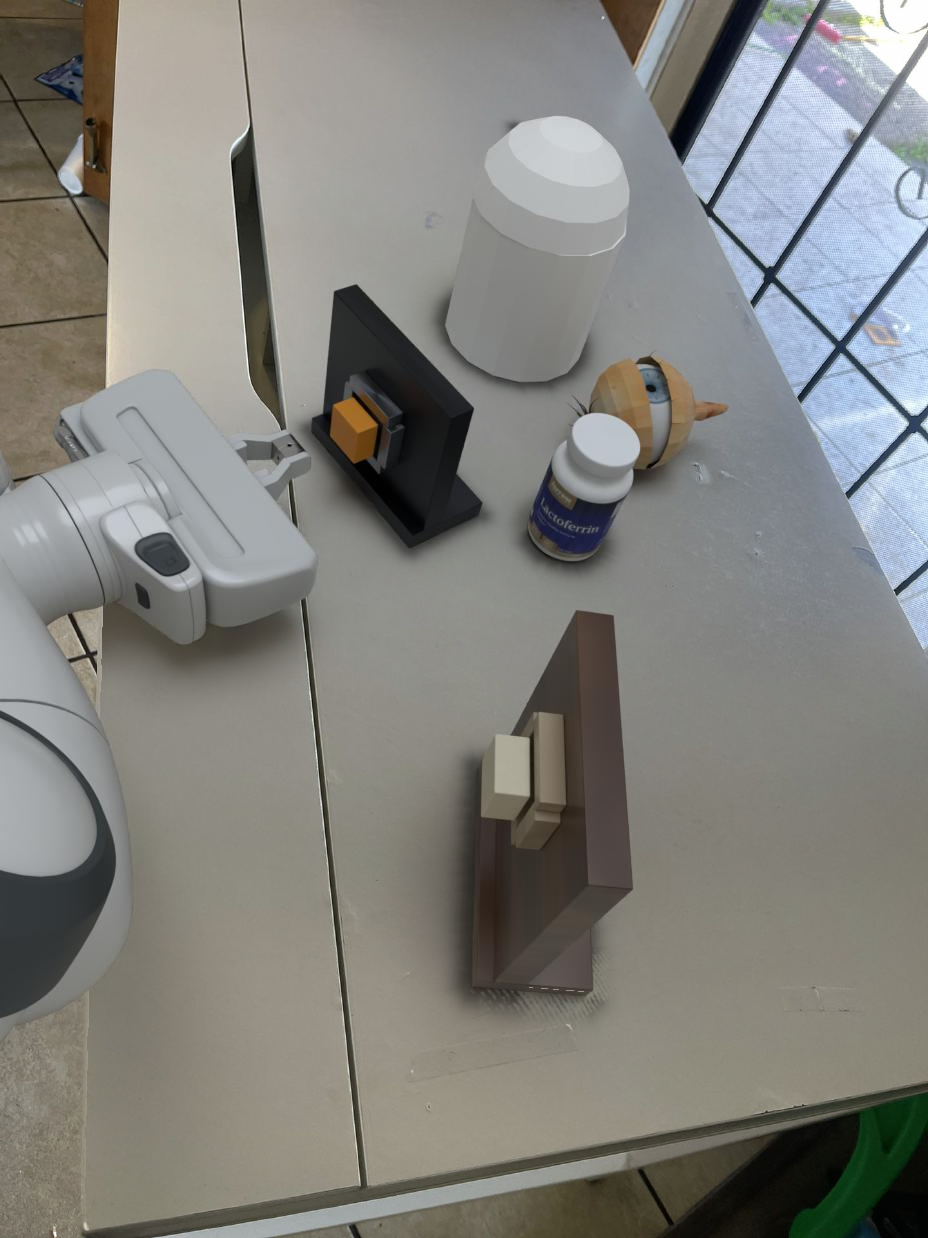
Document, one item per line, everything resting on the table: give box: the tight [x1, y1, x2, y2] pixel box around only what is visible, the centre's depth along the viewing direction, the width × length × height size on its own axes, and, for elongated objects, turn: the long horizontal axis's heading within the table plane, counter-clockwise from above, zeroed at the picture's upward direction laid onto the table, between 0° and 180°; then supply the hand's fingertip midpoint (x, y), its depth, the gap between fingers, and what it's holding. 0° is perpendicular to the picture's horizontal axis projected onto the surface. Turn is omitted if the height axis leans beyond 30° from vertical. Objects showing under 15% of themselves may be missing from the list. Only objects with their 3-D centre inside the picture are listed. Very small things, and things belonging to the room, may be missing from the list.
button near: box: [481, 733, 530, 820], centre depth 46 cm, size 2×3×3 cm, turn 178°
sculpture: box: [566, 350, 730, 470], centre depth 78 cm, size 9×9×15 cm
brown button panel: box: [471, 609, 634, 997], centre depth 51 cm, size 7×14×20 cm, turn 178°
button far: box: [330, 397, 378, 463], centre depth 67 cm, size 2×3×3 cm, turn 38°
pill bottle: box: [527, 413, 640, 562], centre depth 71 cm, size 6×6×11 cm
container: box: [444, 115, 631, 383], centre depth 80 cm, size 14×13×20 cm
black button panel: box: [310, 283, 483, 549], centre depth 70 cm, size 7×14×14 cm, turn 38°
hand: (300, 449), depth 65 cm, fingers closed
